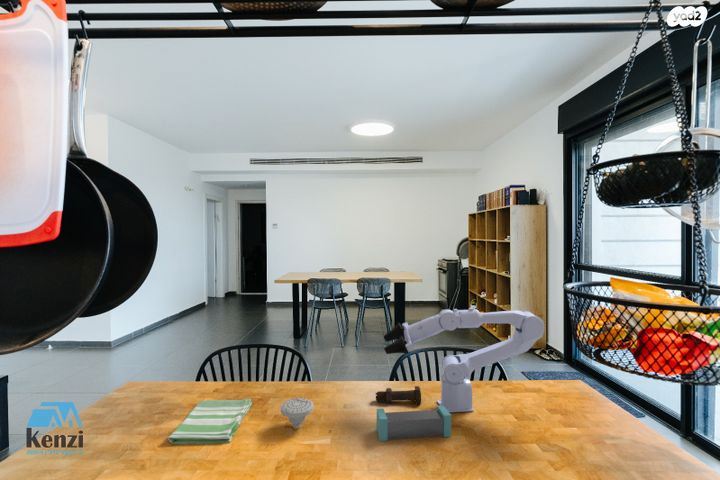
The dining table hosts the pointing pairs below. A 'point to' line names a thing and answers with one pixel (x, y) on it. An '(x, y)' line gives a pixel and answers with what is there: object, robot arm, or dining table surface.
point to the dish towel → (211, 422)
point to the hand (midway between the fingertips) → (385, 344)
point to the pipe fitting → (413, 424)
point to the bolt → (399, 395)
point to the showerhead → (297, 410)
